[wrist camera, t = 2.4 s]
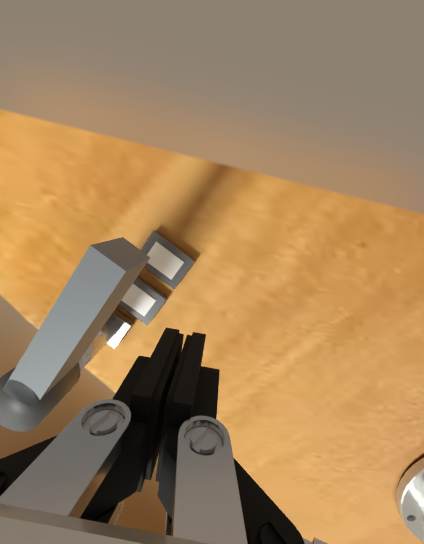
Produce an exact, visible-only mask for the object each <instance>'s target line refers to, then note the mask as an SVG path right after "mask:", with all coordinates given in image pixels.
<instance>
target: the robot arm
mask: <svg viewBox="0 0 424 544" xmlns="http://www.w3.org/2000/svg"><path fill="white" fill-rule="evenodd" d="M205 337H206V334H200V333H195V332H193V334H192V336H191V335H187V337H186V340H185V343H184V346H183V349H182V344H183V334H179V330H177V329H171V328H166V329H165V331H164V332H163V334H162V336H161V338H160V340H159V342H158V344H157V346H156V348H155V350H154V352H153V353H152V355H151V357H144V356H139V357H138V358H137V360H136V361H135V363H134V364H133V366H132V368H131V369H130V371H129V373H128V374H127V376H126V378H125V379H124V381H123V383H122V384H121V386H120V388H119V389H118V391H117V393H116V394H115V396H114V397H113V399H107V400H100V401H97V402H94V403H92V404H90V405H88V406H87V407H86V408H84V409H83V410H82V411H81V412H80V413H79V414H78V415H77V416H76V417H75V418H74V419H73V420H72V421H71V422H70V423H69V424H68V425H67V427H66V428H65V429H64V430H63V431H62V432H61V433H60V434H59V435H57V436H55V437H52V438H50V439H47V440H45V441H43V442H41V443H38V444H36V445H33V446H31V447H29V448H26V449H24V450H21V451H19V452H17V453H14V454H12V455H9V456H7V457H5V458H2V459H0V544H327V543H325V542H323V541H321V540H318V539H316V538H314V539H313V542H310V541H308V540H306V539H304V538H302V536H301V534H300V533H299V531H298V530H297V529H296V527H295V526H294V525H293V523H292V522H291V521H290V520H289V519H288V518H287V517H286V516H285V514H284V513H283V512H282V511H281V510H280V509H279V508H278V507H277V506H276V504H275V503H274V502H273V501H272V500H271V499H270V498H269V497H268V496H267V494H266V493H265V492H264V491H263V490H262V489H261V488H260V487H259V486H258V484H257V483H256V482H255V481H254V480H253V479H252V478H251V477H250V476H249V474H248V473H247V472H246V471H245V470H244V469H243V468H242V467H241V466H240V464H239V463H238V462H237V461H236V460H235V459H234V458H233V453H232V447H231V441H230V436H229V433H228V431H227V429H226V428H225V426H224V425H223V424H222V423H220V422H219V421H218V420H216V415H217V400H218V385H219V369H213V368H208V367H202V366H201V362H202V356H203V349H204V343H205ZM181 351H182V352H181ZM158 454H159V458H158V467H157V474H156V481H157V482H159V490H158V497H159V499H160V500H161V502H162V504H163V506H164V508H165V509H166V511H167V517H166V527H165V535H163V534H158V533H152V532H148V531H143V530H137V529H132V528H127V527H122V526H117V525H114V524H115V522H116V520H117V518H118V516H119V514H120V512H121V509H122V506H123V502H124V499H125V498H127V497H129V496H130V495H132V494H133V493H135V492H136V491H138V492H141V489H142V486H143V483H144V480H145V479H147V480H151V478H152V474H153V471H154V467H155V464H156V460H157V457H158ZM396 504H397V509H398V511H399V513H400V516H401V518H402V519H403V521H404V523H405V524H406V526H407V528H408V529H409V530H410V531H411V532H412V533H413V535H414V536H416V537H417V538H418V539H420V540H421V541H423V542H424V457H423V458H422V459H420V460H419V461H417V462H416V463H415V464H413V465H412V466H411V467H410V468H409V469H408V470H407V471H406V473H405V474H404V476H403V477H402V479H401V480H400V482H399V485H398V488H397V492H396Z"/></svg>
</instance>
